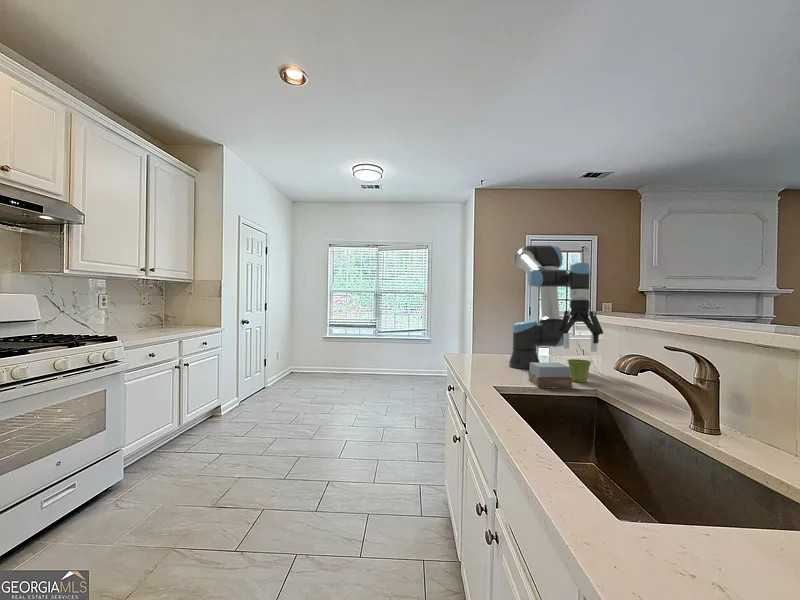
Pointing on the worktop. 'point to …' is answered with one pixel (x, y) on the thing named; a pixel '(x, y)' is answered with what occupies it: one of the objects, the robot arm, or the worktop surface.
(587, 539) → the worktop surface
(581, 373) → the plant pot
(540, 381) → the walnut base block
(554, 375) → the slate top block
